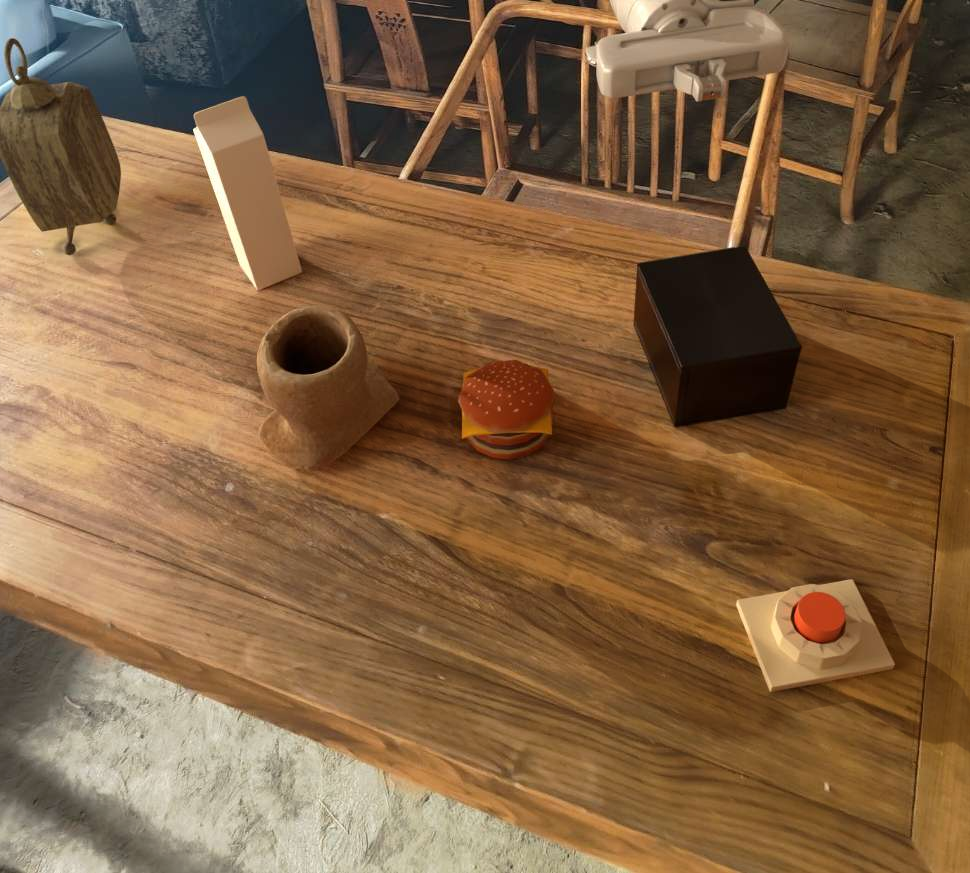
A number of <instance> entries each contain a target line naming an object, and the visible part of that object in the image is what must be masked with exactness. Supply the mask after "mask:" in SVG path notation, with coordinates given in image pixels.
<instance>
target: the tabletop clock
mask: <svg viewBox="0 0 970 873" xmlns="http://www.w3.org/2000/svg"><path fill="white" fill-rule="evenodd" d="M14 45H15V46H16V47H17V49H18V51H19V54H20V57H21V65H19V66H16V67H15V70H14V71H15V73H16V76H17V77H18V79H17V78H16V76H15V74H14V72H13V67H12V61H11V60H12V58H11V54H12V49H13V46H14ZM3 55H4V63H5V67H6V70H7V73H8V75H9V77H10V80H11V81H12V82H13V83H14V84H13V86H12V87H11V89H10V91H8V92H7V93H5V95H4V97H3V100H2V102H1V104H0V159H1V162H2V165H3V166H4V169H5V171H6V173H7V175H8V177H9V179H10V181H11V183H12V185H13V187H14V189H15V191H16V193H17V195H18V197H19V199H20V200H21V202H22V204H23V205H24V206H23V207H24V208H25V209H26V211H27V213H28V214H29V216H30V217H31V219H32V222H34V224H35V225H36V227H37V228H38V229H39V230H40V231H41V232H43V233H44V232H48V231H49V232H50V231H54V230H55V231H56V230H61V229H66V242H64V243H63V245H62V246H61V249H62V251H63V253H64V254H65V255H66V256H72V255H74V254H75V253H76V251H77V248H76V245H75V244H74V243H73V238H74V234H75V233H74V232H75V229H76V227H78V226H85V225H91V224H96V223H102V222H103V221H104V224H106V225H107V226H108V225H109V226H113V225H115V224H116V223H117V217H116V214H114V213H113V212H115V211H116V210H117V206H118V202H119V198H120V191H121V181H122V168H121V162H120V159H119V156H118V153H117V150H116V148H115V145H114V142H113V139H112V137H111V135H110V133H109V130H108V128H107V125H106V123H105V121H104V118H103V116H102V114H101V111H100V109H99V107H98V105H97V103H96V100H95V98H94V96H93V94H92V92H91V91H90V89H89V87H87V86H84V85H82V84H79V83H76V82H74V81H67V82H61V83H60V82H59V83H53V84H50V83H49V82H48V81H46V80H44V79H41V78H39V77H34V76H32V77H29V75H28V70H29V68H28V61H27V56H26V53H25V51H24V48H23V46H22V44H21V43H20V41H19V40H18V39H16V38H15V37H14V38H12V37H10V38H9V39H8V40H7V41H6V42H5V46H4V52H3Z"/></svg>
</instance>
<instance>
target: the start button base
mask: <svg viewBox="0 0 970 873" xmlns="http://www.w3.org/2000/svg"><path fill="white" fill-rule="evenodd" d="M812 592H823V593H827V594H829V595H831V596H833V597H835V598H836V599H837V600H838V601H839V602H840V603H841V604H842V606H843V607H844V610H845V615H846V617H845V622H844V624H843V626H842V629H841V631H840V633H839V635H838V636H837V637H836V638H835V639H834V640H832V641H829V642H825V643H819V642H814V641H811V640H808V639H807V638H805V637H804V636H802V635H801V634H800V633H799V631H798V630H797V628H796V626H795V624H794V614H795V611H796V608H797V606H798V603H799V601H800V599H801V598H802V597H803V596H804V595H806V594H808V593H812ZM735 606H736V608H737V611H738V614H739V616H740V619H741V621H742V624H743V627H744V629H745V632H746V634H747V636H748V640H749V642H750V644H751V647H752V651H753V653H754V655H755V657H756V660H757V662H758V665H759V667H760V670H761V672H762V675H763V678H764V680H765V684H766V685H767V688H768V690H769V692H771V693H773V692H777V691H783V690H784V691H785V690H788V689H793V688H799V687H804V686H809V685H816V684H820V683H821V684H822V683H826V682H832V681H836V680H842V679H848V678H853V677H859V676H863V675H864V676H865V675H869V674H874V673H880V672H885V671H890V670H893V669H894V668H895V666H896V663H895V661H894V659H893V657H892V654H891V653H890V652H889V649H888V647H887V645H886V643H885V641H884V638H883V637H882V635H881V633H880V631H879V629H878V627H877V625H876V623H875V621H874V619H873V617H872V615H871V612H870V611H869V609H868V607H867V605H866V603H865V601H864V599H863V597H862V595H861V593H860V591H859V589H858V586H857V585H856V583H855V581H854V579H846V580H839V581H835V582H829V583H824V584H815V583H809V584H805V585H799V586H793V587H790V589H789V590H785V591H780V592H773V593H768V594H763V595H757V596H751V597H747V598H740V599H737V600H736V603H735Z"/></svg>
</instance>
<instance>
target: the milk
mask: <svg viewBox="0 0 970 873" xmlns="http://www.w3.org/2000/svg"><path fill="white" fill-rule="evenodd" d="M193 119H194V122H195V126H196V127H194V128H193V134H194V136H195V139H196V142H197V145H198V148H199V151H200V154H201V157H202V160H203V162H204V165H205V169H206V171H207V174H208V177H209V180H210V182H211V186H212V189H213V191H214V194H215V197H216V200H217V203H218V206H219V209H220V212H221V216H222V219H223V220H224V223H225V227H226V230H227V233H228V235H229V238H230V241H231V244H232V247H233V250H234V252H235V256H236V259H237V261H238V264H239V266H240V268H241V269H242V271H243V272H244V273H245V275H246V276H247V278H248V279H249V281H250V282H251V283H252V285H253V286H254V288H255V289H256V290H257V291H261V290H263V289H265V288H268V287H270V286H273V285H275V284H278V283H280V282H282V281H285V280H287V279H290V278H292V277H295V276H297V275H299V274H302V273H303V269H302V267H301V263H300V259H299V255H298V251H297V249H296V245H295V241H294V238H293V234H292V231H291V227H290V224H289V223H290V222H289V220H288V216H287V212H286V209H285V206H284V203H283V199H282V198H283V197H282V195H281V192H280V188H279V184H278V180H277V177H276V173H275V170H274V166H273V163H272V160H271V156H270V153H269V149H268V146H267V142H266V138H265V134H264V132H263V130H262V129H261V127H260V124H259V123H258V121H257V119H256V118H255V116H254V115H253V113H252V110H251V109H250V104H249V101H248V99H247V97H246V96H244V95H242V96H238V97H236V98H233V99H230V100H228V101H225V102H221V103H218V104H216V105H214V106H211V107H208V108H205V109H202V110H199V111H196V112H194V114H193Z"/></svg>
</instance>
